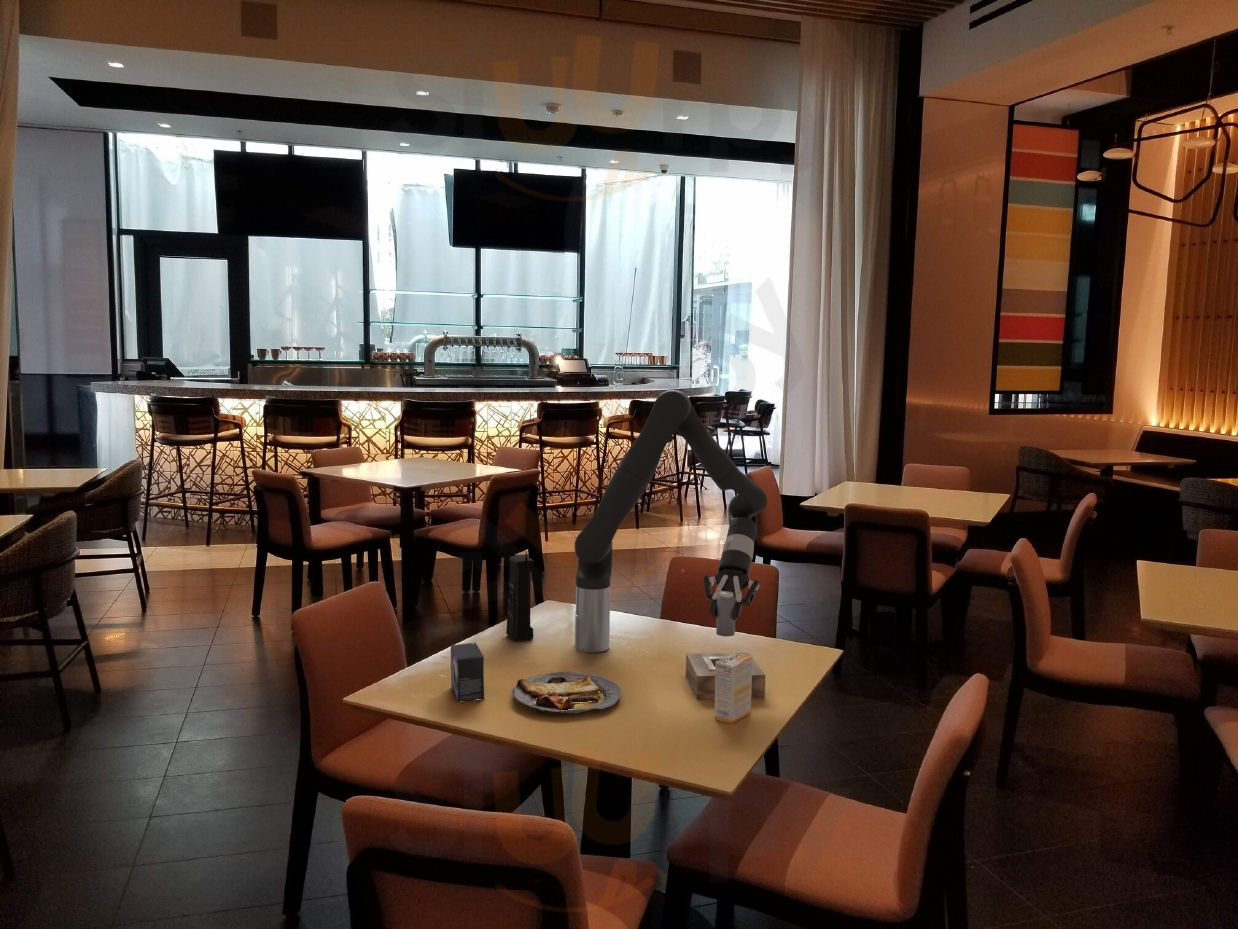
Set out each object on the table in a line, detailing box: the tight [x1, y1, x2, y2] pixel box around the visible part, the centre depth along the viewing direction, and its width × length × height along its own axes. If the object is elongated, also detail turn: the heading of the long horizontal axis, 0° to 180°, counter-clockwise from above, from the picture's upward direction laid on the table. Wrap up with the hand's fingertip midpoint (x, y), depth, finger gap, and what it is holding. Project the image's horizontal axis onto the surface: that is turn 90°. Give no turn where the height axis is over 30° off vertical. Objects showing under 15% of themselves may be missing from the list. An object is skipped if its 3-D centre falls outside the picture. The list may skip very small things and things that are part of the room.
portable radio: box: [505, 550, 535, 643], centre depth 250 cm, size 8×6×25 cm
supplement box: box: [713, 652, 753, 725], centre depth 197 cm, size 8×5×13 cm, turn 141°
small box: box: [450, 642, 485, 703], centre depth 208 cm, size 11×6×10 cm, turn 19°
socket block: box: [685, 652, 766, 700], centre depth 216 cm, size 16×16×6 cm
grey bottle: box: [715, 591, 737, 637], centre depth 214 cm, size 4×4×10 cm
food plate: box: [512, 671, 622, 715], centre depth 207 cm, size 25×23×4 cm
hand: (724, 617), depth 213 cm, fingers closed on grey bottle, 4 cm apart
